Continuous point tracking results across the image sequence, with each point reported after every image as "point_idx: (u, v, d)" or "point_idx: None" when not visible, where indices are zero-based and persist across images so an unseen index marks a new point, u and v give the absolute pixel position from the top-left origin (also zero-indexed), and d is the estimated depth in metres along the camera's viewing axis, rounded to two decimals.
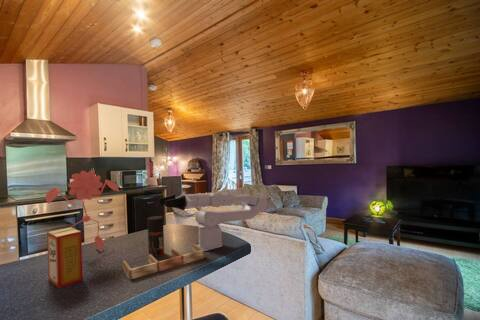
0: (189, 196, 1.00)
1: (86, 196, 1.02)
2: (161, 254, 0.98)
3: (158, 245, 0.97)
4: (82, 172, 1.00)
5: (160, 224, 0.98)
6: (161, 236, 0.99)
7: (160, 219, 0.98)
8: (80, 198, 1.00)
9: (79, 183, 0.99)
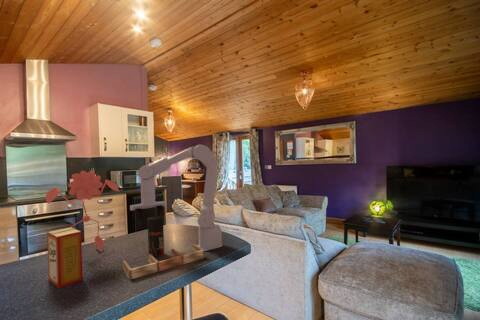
0: None
1: (86, 196, 1.02)
2: (161, 254, 0.98)
3: (158, 245, 0.97)
4: (82, 172, 1.00)
5: (160, 224, 0.98)
6: (161, 236, 0.99)
7: (160, 219, 0.98)
8: (80, 198, 1.00)
9: (79, 183, 0.99)
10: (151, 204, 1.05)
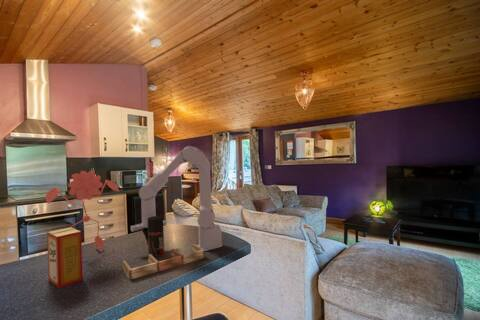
0: None
1: (86, 196, 1.02)
2: (161, 254, 0.98)
3: (158, 245, 0.97)
4: (82, 172, 1.00)
5: (159, 224, 0.98)
6: (161, 236, 0.99)
7: (160, 219, 0.98)
8: (80, 198, 1.00)
9: (79, 183, 0.99)
10: None
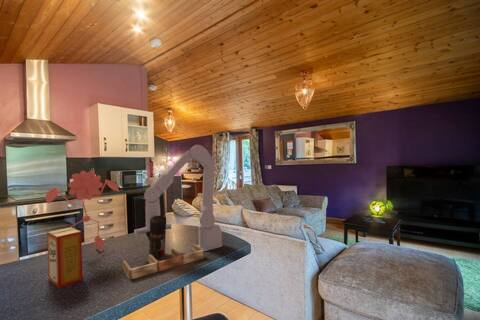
0: None
1: (86, 196, 1.02)
2: (162, 254, 0.98)
3: (159, 247, 0.96)
4: (82, 172, 1.00)
5: (162, 227, 0.95)
6: (163, 238, 0.96)
7: (163, 222, 0.95)
8: (80, 198, 1.00)
9: (79, 183, 0.99)
10: None
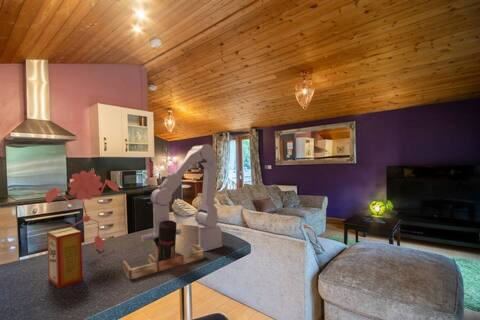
0: None
1: (86, 196, 1.02)
2: None
3: (169, 255, 0.87)
4: (82, 172, 1.00)
5: (173, 233, 0.86)
6: (173, 245, 0.88)
7: (174, 228, 0.86)
8: (80, 198, 1.00)
9: (79, 183, 0.99)
10: None
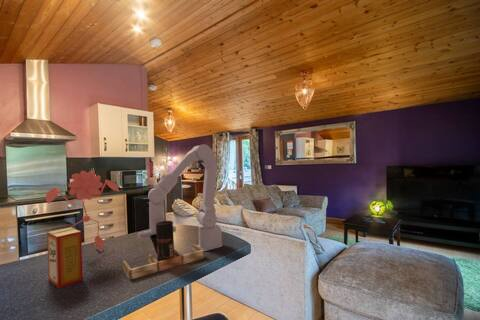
0: None
1: (86, 196, 1.02)
2: None
3: (168, 253, 0.88)
4: (82, 172, 1.00)
5: (170, 230, 0.89)
6: (171, 243, 0.90)
7: (170, 224, 0.89)
8: (80, 198, 1.00)
9: (79, 183, 0.99)
10: None
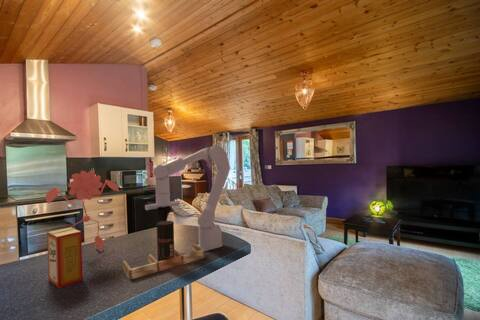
0: None
1: (86, 196, 1.02)
2: None
3: (168, 253, 0.88)
4: (82, 172, 1.00)
5: (170, 230, 0.89)
6: (172, 243, 0.90)
7: (171, 224, 0.89)
8: (80, 198, 1.00)
9: (79, 183, 0.99)
10: (166, 204, 1.05)
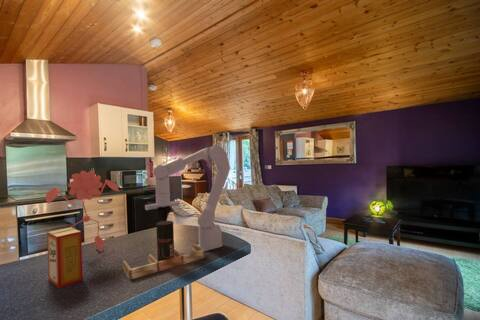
0: None
1: (86, 196, 1.02)
2: None
3: (168, 253, 0.88)
4: (82, 172, 1.00)
5: (170, 230, 0.89)
6: (172, 243, 0.90)
7: (170, 224, 0.89)
8: (80, 198, 1.00)
9: (79, 183, 0.99)
10: (166, 204, 1.05)
